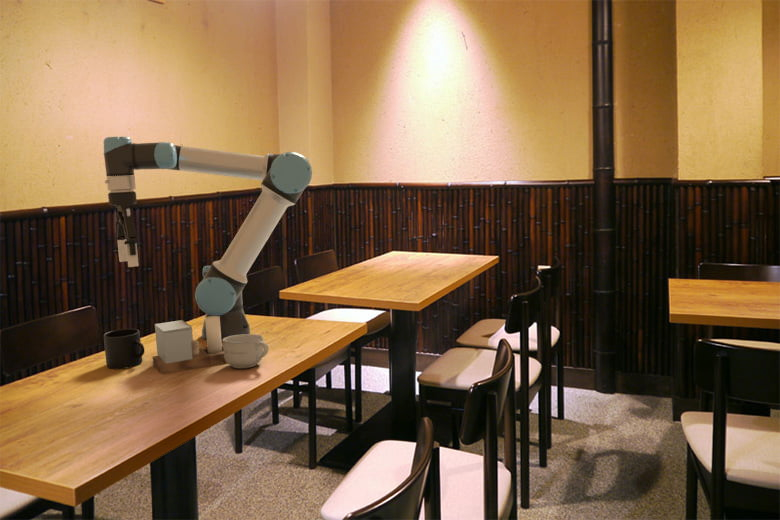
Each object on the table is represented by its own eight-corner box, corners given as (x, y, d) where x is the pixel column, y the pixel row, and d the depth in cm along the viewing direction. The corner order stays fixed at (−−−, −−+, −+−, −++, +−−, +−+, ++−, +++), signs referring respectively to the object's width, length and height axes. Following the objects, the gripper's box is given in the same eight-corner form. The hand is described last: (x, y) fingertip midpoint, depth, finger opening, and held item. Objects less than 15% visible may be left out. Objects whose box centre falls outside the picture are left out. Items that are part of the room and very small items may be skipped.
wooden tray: (222, 352, 197) (220, 332, 196) (233, 360, 189) (231, 339, 188) (153, 365, 187) (151, 344, 186) (162, 374, 179) (160, 352, 178)
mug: (133, 371, 182) (130, 338, 181) (99, 367, 186) (95, 336, 185) (157, 361, 191) (154, 330, 190) (123, 358, 195) (120, 327, 194)
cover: (184, 350, 191) (182, 319, 190) (194, 358, 183) (191, 326, 181) (157, 355, 187) (154, 324, 186) (166, 363, 179) (163, 331, 178)
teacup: (216, 366, 183) (214, 338, 182) (249, 357, 191) (247, 330, 190) (246, 376, 174) (244, 346, 173) (280, 366, 182) (278, 337, 181)
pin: (206, 358, 192) (203, 317, 190) (220, 355, 194) (217, 315, 192) (210, 361, 188) (207, 320, 187) (224, 359, 190) (221, 317, 189)
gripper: (100, 191, 202) (107, 260, 206) (115, 192, 181) (123, 270, 184) (127, 189, 206) (133, 258, 209) (144, 191, 185) (151, 267, 188)
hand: (128, 264), depth 197 cm, fingers open, 13 cm apart
